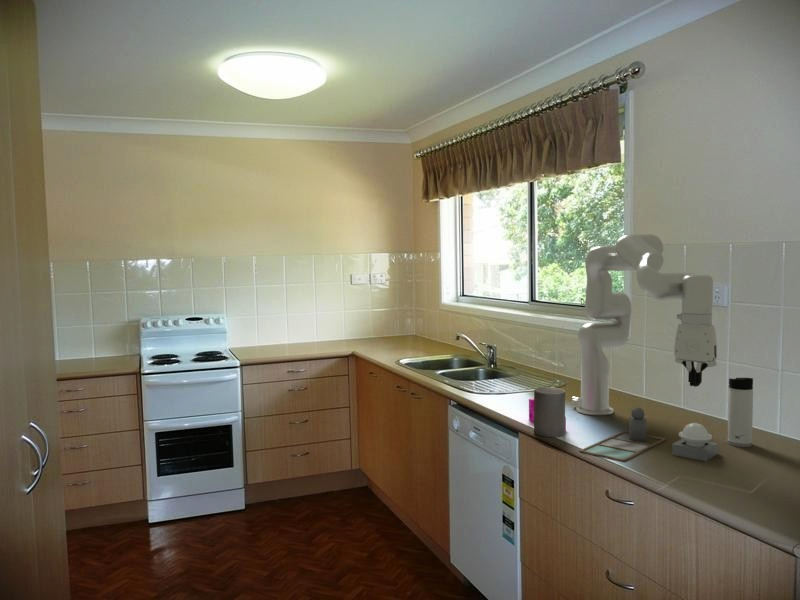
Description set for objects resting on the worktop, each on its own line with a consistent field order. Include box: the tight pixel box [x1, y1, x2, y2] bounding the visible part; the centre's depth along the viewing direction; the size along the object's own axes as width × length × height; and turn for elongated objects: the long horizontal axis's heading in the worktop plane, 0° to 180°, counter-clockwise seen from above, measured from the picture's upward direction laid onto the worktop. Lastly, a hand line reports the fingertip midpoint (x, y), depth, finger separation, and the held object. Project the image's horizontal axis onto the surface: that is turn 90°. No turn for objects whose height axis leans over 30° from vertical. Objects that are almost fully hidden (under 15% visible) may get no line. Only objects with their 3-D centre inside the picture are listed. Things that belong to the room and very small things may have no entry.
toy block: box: [528, 398, 567, 431], centre depth 211 cm, size 15×6×8 cm, turn 11°
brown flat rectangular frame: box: [579, 430, 667, 463], centre depth 187 cm, size 13×28×1 cm, turn 135°
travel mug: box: [727, 377, 754, 448], centre depth 186 cm, size 6×7×20 cm
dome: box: [678, 422, 713, 448], centre depth 178 cm, size 8×8×7 cm
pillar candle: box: [533, 385, 566, 438], centre depth 201 cm, size 10×10×15 cm
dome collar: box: [671, 438, 719, 462], centre depth 178 cm, size 9×9×3 cm
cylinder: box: [628, 406, 647, 443], centre depth 193 cm, size 5×5×10 cm
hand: (694, 385), depth 177 cm, fingers closed
